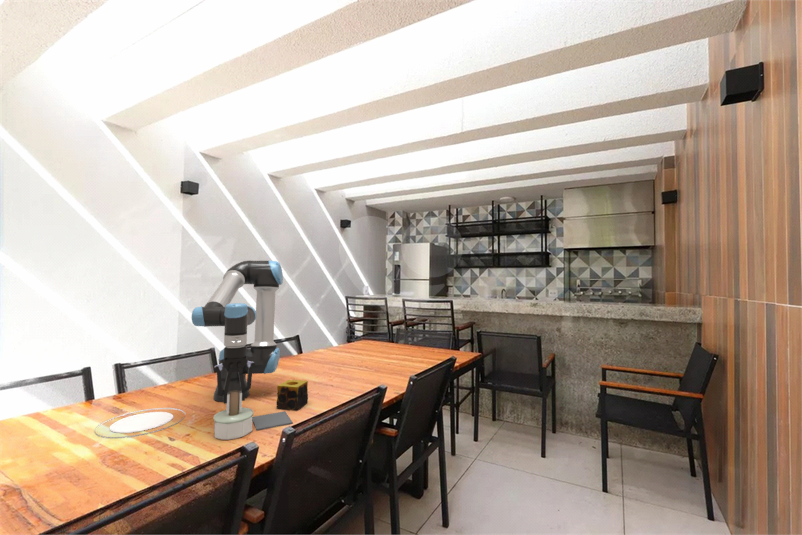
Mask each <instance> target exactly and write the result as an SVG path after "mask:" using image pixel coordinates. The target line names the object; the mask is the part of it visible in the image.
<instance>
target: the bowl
mask: <svg viewBox="0 0 802 535" xmlns="http://www.w3.org/2000/svg"><path fill="white" fill-rule="evenodd" d="M252 417H253V416H252ZM252 417H250V418H249V419H246V420H244V421H241V422H236V423H228V424H222V423H217V422H215V421H213V422H214V425H213V426H214V427H213V431H214V432H213V434H214V435H213V436H214V438H215V439H218V440H225V441H227V440H228V441H229V440H230V441H231V440H235V439H240V438H241V437H242V438H243V437H245V436H247V435H248V434H250V433H252V431H253V421H252Z"/></svg>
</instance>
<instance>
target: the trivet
mask: <svg viewBox="0 0 802 535" xmlns="http://www.w3.org/2000/svg"><path fill="white" fill-rule="evenodd" d="M252 424H253V425H254V429H255V431H256V432H257V431H263V430H268V429H273V428H277V427H283V426H287V425H292V424H294V422H293V421H292V419H291V417H290V416H289V414H288V412H287V411H286V410H285V411H278V412H271V413H267V414H261V415H254V416H252Z"/></svg>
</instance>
